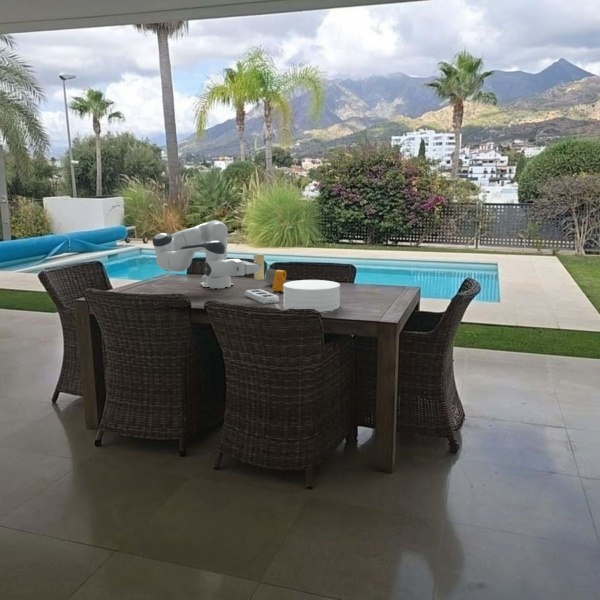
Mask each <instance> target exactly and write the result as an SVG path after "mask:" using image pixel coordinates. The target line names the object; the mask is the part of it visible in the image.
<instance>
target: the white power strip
mask: <svg viewBox="0 0 600 600" xmlns="http://www.w3.org/2000/svg"><path fill="white" fill-rule="evenodd" d="M244 296H245V297H247V298H249V299H251V300H254V301H256V302H258V303H260V304H263V305H264V304H274V303H279V302H280V297H279V296H278V295H276V294H273V293H272V292H271V293H270V292H269V291H266V290H264V289H261V288H258V289H247V290H244Z"/></svg>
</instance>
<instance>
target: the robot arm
mask: <svg viewBox="0 0 600 600" xmlns="http://www.w3.org/2000/svg"><path fill="white" fill-rule="evenodd" d="M228 234H229V230H228V226H227V225H226V223H224V222H222V221H220V220H218V219H217V220H215V219H214V220H210V221H207V222H204V223H201V224H198V225H196V226H195V225H194V226H193V227H190V228H189V227H188V228H185V229H182V230H180V231H177V232H176V231H175V232H174V233H171V234H170V233H167V232H160V233H157V234H154V236H153V237H152V246H153V249H154V252H155V256H156V259H155V260H156V264H157V265H156V266H158V268H160V269H163V271H168V272H169V271H170V272H175V273H176V272H181V273H182V272H185V271H186V270H188V269H189V268H190V266H191V264H192V262H193V257H194V255H195V254H196V252H202V251H204V252H205V261H204V263H203V273H204V275H202V277H201V279H202V281H203V282H200V285H201V284H202V286H203V287H210V288H209V289H215V288H217V289H226V288H225V287H228V288H230V287H232V286H231V285H233V286H234V283H232V277H239V276H245V275H249V274H254V273H257V272H259V269H260V268H263V265H262V264H261V265H257V264H254V262H252V261H251V262H249V261H247V260H241V259H240V258H228V236H229V235H228ZM202 286H201V287H202ZM203 287H202V288H203Z"/></svg>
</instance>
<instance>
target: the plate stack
mask: <svg viewBox="0 0 600 600" xmlns="http://www.w3.org/2000/svg"><path fill="white" fill-rule="evenodd" d="M283 288H284V289H283V292H282V293H283V296H282V297H283V301H282V302H283V309H284V310H286V309H288V308H294V309H315V310H318V311H328V310H334V309H337V308H339V307H340V308H341V304H340V303H341V294H340V293H341V289H340V288H341V284H340V283H339V282H336V281H331V280H324V279H323V280H321V279H300V280H292V281H291V280H290V281H287V282H285V283H284V284H283ZM340 308H339V309H340Z"/></svg>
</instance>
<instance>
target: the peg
mask: <svg viewBox="0 0 600 600" xmlns="http://www.w3.org/2000/svg"><path fill="white" fill-rule="evenodd" d="M253 263H254V264H257V265H261V264H262V265H263V268H260V269H259V272H257V273H253V277H254V278H253V279H254V280H256V281H260V280H265V254H263V253H254V254H253Z"/></svg>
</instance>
